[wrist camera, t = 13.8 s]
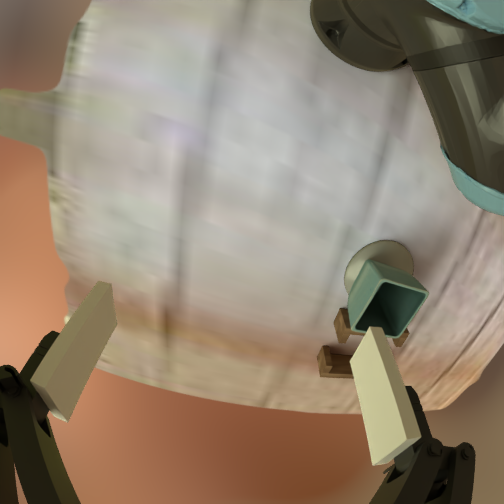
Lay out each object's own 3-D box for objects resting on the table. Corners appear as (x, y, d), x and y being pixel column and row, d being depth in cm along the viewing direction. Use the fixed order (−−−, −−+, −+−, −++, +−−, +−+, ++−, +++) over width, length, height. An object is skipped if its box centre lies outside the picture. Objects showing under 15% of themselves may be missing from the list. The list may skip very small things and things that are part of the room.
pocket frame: (340, 308, 46) (346, 328, 42) (400, 315, 47) (409, 333, 43) (317, 357, 52) (320, 376, 48) (372, 360, 53) (378, 378, 49)
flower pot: (406, 259, 41) (431, 292, 33) (381, 302, 45) (398, 339, 37) (361, 243, 40) (382, 278, 32) (337, 291, 44) (349, 330, 36)
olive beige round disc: (358, 233, 40) (360, 235, 39) (422, 247, 40) (424, 250, 40) (334, 299, 45) (334, 301, 45) (394, 306, 46) (395, 309, 45)
